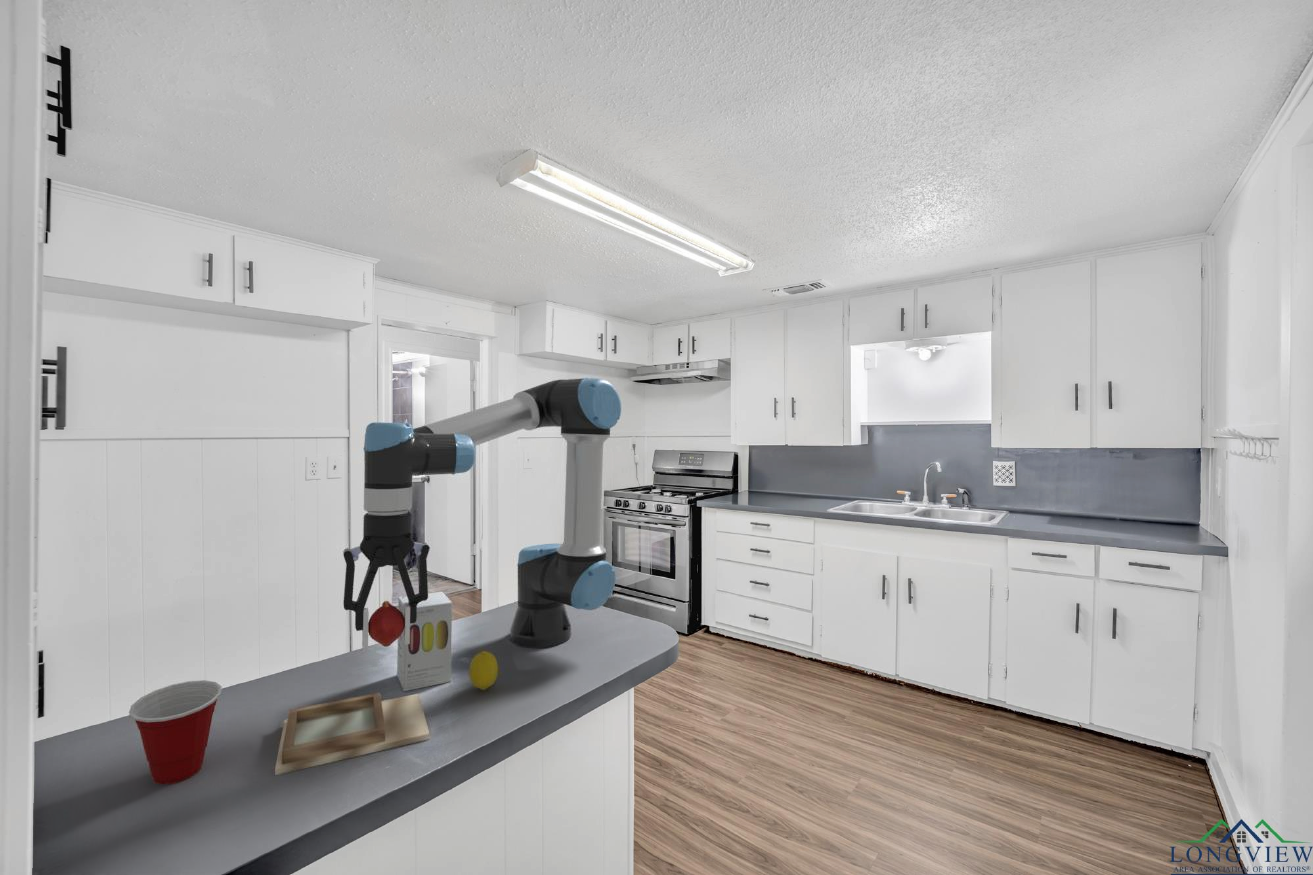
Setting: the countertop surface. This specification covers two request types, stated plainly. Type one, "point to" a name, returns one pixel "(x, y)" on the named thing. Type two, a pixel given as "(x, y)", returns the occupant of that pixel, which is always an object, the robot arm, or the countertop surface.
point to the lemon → (483, 670)
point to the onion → (386, 624)
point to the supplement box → (426, 644)
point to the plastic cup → (176, 728)
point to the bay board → (349, 730)
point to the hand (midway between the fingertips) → (386, 644)
